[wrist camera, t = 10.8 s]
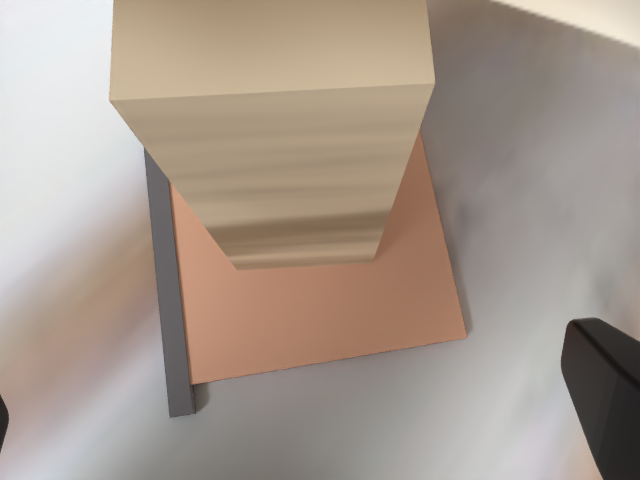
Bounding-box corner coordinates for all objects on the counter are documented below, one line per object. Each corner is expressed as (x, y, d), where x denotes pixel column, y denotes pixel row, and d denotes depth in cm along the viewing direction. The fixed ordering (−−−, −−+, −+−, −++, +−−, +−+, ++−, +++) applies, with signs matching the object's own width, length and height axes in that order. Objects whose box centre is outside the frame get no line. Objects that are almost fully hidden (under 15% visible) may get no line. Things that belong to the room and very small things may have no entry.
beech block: (372, 263, 21) (435, 83, 9) (237, 270, 21) (109, 100, 9) (362, 139, 23) (406, -174, 10) (235, 146, 23) (120, -159, 10)
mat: (471, 365, 21) (474, 365, 20) (173, 417, 21) (170, 417, 20) (394, 30, 24) (396, 23, 24) (139, 69, 24) (135, 63, 24)
